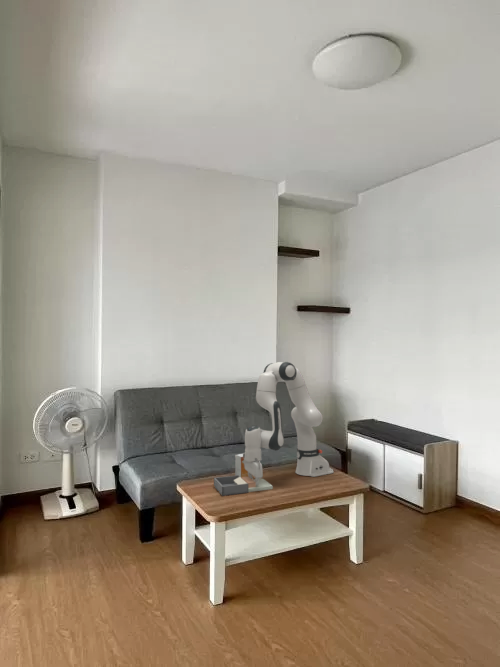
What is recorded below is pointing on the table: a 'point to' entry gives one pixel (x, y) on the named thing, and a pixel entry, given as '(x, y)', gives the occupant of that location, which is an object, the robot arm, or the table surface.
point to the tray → (229, 485)
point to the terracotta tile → (249, 481)
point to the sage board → (261, 486)
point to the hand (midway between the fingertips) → (253, 482)
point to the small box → (240, 466)
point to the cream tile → (239, 481)
